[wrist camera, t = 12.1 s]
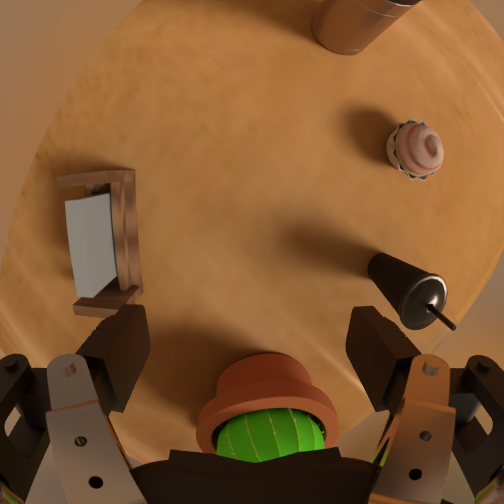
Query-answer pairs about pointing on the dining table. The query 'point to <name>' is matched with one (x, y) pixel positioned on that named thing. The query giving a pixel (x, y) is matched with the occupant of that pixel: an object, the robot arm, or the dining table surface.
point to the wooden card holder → (125, 240)
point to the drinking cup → (410, 291)
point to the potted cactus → (266, 411)
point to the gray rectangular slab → (91, 242)
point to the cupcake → (415, 149)
